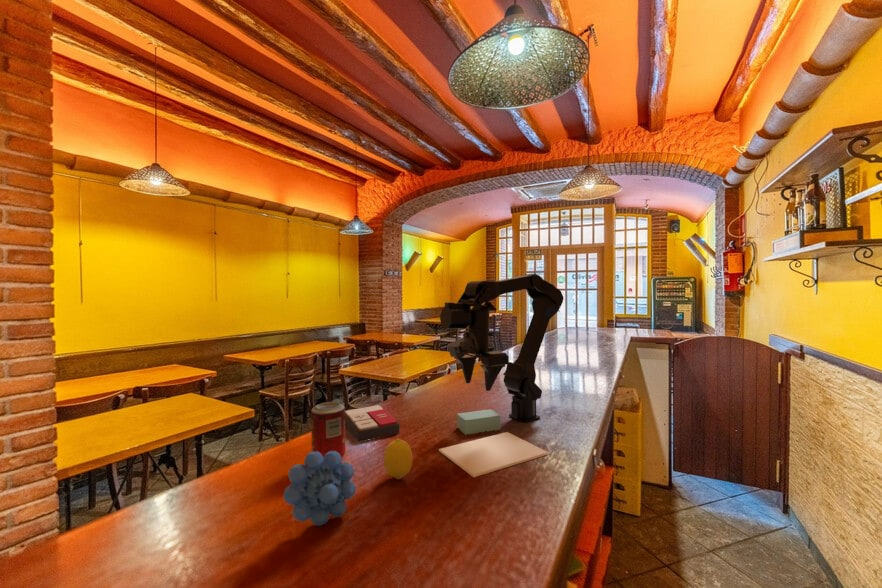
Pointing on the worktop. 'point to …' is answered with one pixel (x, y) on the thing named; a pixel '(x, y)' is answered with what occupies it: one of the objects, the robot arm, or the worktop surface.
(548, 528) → the worktop surface
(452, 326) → the robot arm
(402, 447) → the lemon
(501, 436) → the mat
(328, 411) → the soda can
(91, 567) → the worktop surface
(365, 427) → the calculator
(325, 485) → the blue knobbed flower
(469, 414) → the grey-green block
